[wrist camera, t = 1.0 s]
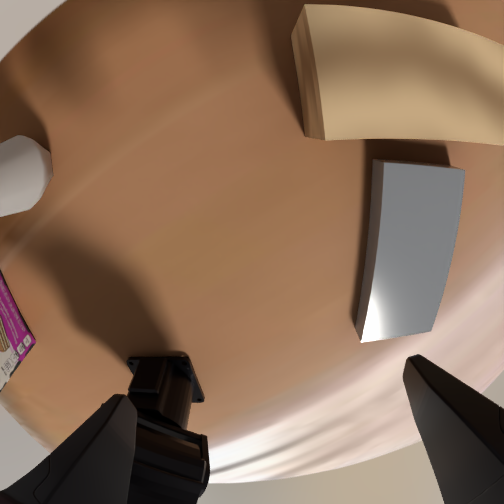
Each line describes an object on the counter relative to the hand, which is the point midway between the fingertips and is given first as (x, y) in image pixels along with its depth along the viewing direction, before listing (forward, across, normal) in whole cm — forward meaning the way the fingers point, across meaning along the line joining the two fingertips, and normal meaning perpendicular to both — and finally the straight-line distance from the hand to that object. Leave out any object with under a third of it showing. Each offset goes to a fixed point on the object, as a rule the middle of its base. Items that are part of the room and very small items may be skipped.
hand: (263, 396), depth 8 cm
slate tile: (+14, -11, +3) cm, 18 cm away
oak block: (+13, -12, -9) cm, 20 cm away
